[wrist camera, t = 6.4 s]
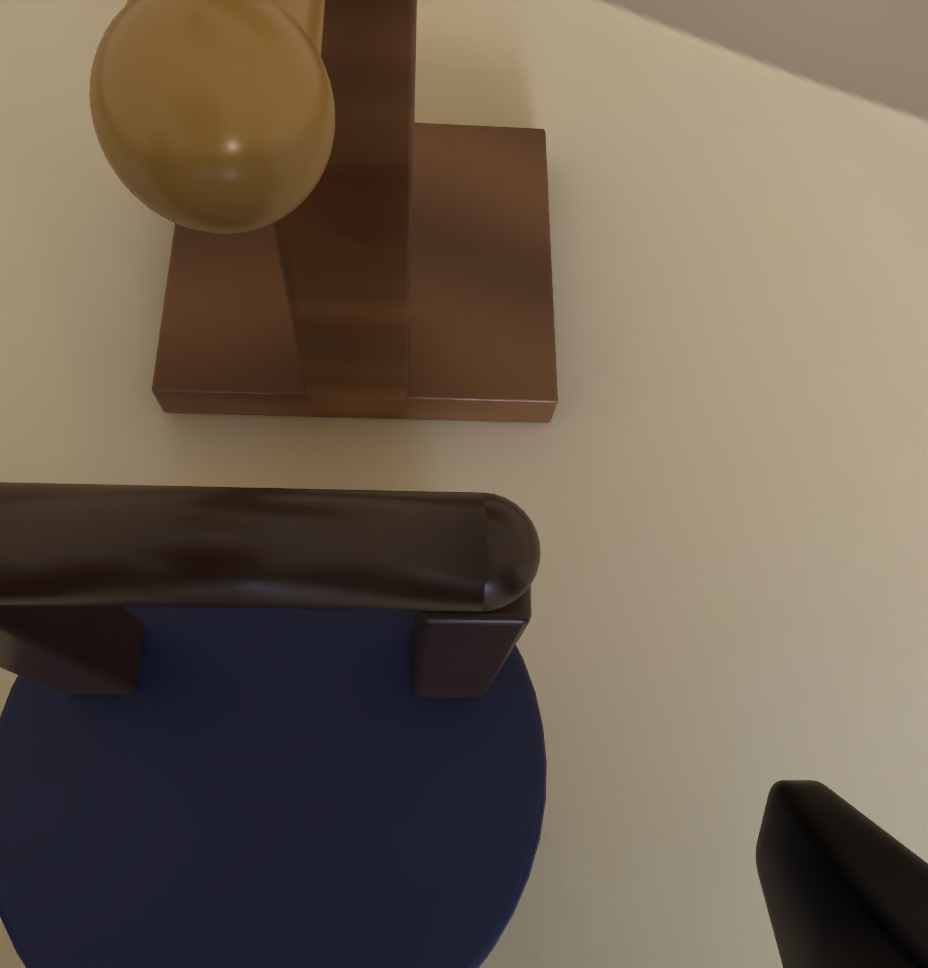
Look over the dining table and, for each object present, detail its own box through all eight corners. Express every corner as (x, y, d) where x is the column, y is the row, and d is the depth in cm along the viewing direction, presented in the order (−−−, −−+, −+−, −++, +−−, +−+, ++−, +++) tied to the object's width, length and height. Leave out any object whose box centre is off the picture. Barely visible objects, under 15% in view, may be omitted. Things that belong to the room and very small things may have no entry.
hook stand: (560, 672, 17) (1335, -100, 3) (129, 668, 16) (-1438, -288, 2) (539, 158, 21) (803, -1116, 7) (199, 143, 21) (-206, -1259, 7)
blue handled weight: (466, 939, 15) (717, 1331, 3) (202, 942, 15) (-594, 1382, 3) (465, 676, 17) (630, 289, 5) (228, 675, 16) (-223, 257, 5)
